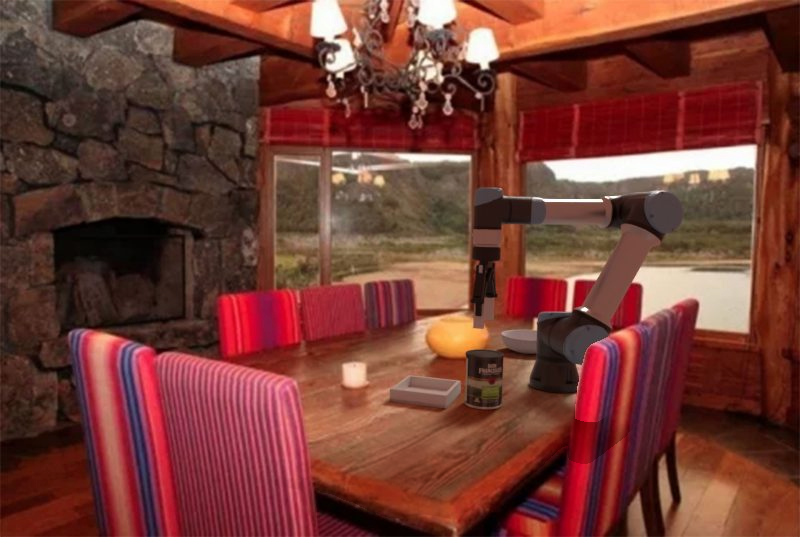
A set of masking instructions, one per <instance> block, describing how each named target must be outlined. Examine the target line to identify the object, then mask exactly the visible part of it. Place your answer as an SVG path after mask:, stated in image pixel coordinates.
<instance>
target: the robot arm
mask: <svg viewBox="0 0 800 537" xmlns="http://www.w3.org/2000/svg"><path fill="white" fill-rule="evenodd" d="M473 198H474V199H473V232H471V233H470V236H471V237H472V244H473V245H474V246H473V247H472V249H471V250H472V251H471V252H472V253H471V254H472V255H471V259H472V260H473V261H478V262H479V263H478V264H476V265H475V278H474V284H473V293H472V297H471V299H470V304H473V322H472V323H473V324H472V329H480V330H484V329H485V322H486V321H487V322H494V320H495V316H494V315H495V298H498V295H499V294H498V293H497V286H496V285H497V282H496V262H499V261H500V260H501V257H502V256H501V254H502V253H501V251H502V248H501V247H500V246H501V245H502V231H503V230H502V226H504V225H525V226H527V225H528V226H532V225H533V226H536V225H537V226H538V225H554V226H555V225H557V226H558V225H562V226H563V225H566V226H567V225H568V226H569V225H577V226H579V225H582V226H585V225H587V226H593V225H594V226H598V227H599V228H601V229H614V230H620V231H621V233H622V234H621V236H620V237H619V240H618V242H617V243H616V245H615V247H614V248H613V250H612V251H611V254H610V255H609V258H608V259H607V260H606V263H605V264H604V266H603V268H602V270H601V272H600V273H599V274H598V276H597V279H596V281H595V282H594V284H593V286H592V287H591V289H590V291H589V293H588V294H587V296H586V298H585V299H584V301H583V303H582V305H581V306H577V307H574V308H573V310H572V311H541V312H539V313H538V315H537V320H536V331H537V344H536V354H535V362H534V364H533V367H532V370H531V371H530V375H529V383H528V384H529V386H530V387H532V388H533V389H536V390H540V391H542V392H549V393H557V394H559V393H561V394H564V393H565V394H569V393H570V394H571V393H575V392H578V391H577V386H578V382H579V377H580V374H579V370H578V367H577V365H579V366H582V363H583V359H584V355H585V352H586V350H587V348H588V347H589V346H590V345H591V344H593V343H595V342H597V341H600V340H602V339H604V338H606V337H608V336H609V337H610V334H611V332H612V330H613V326H612V323H611V320H612V319H613V316H614V315H615V314H616V312H617V311H618V307H619V306H620V305H621V302H622V301H623V299H624V297H625V295H626V294H627V292H628V290H629V289H630V287H631V286H632V283H633V282H634V279H635V278H636V276H637V274H638V273H639V271H640V269H641V267H642V265H643V264H644V262H645V260H646V258H647V257H648V255H649V254H650V251H651V250H652V248H654V247H657V246H660V245H661V243H662V242H663V240H664V238H665V236H666V235H667V234H671V233H673V232H675V231H676V230H677V229H678V228H680V226H681V225H682V223H683V219H684V208H683V205H682V202H681V200H680V199H679V197H678V196H677V195H676V194H675V193H673V192H671V191H667V190H660V189H656V190H651V191H642V192H640V191H639V192H631V193H625V194H619V195H613V196H610V195H609V196H607V195H606V196H600V197H599V198H598V199H580V198H579V199H577V198H576V199H572V198H570V199H569V198H563V199H562V198H559V199H558V198H542V197H539V196H537V197H535V196H515V195H514V196H508V195H504V191H503V189H502V188H501V187H490V186H487V187H478V188H477V189H475V191H474V197H473Z"/></svg>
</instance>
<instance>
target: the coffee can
mask: <svg viewBox="0 0 800 537" xmlns="http://www.w3.org/2000/svg"><path fill="white" fill-rule="evenodd" d="M504 357H505V353H503V352H501V351H498V350H492V349H479V348H478V349H470V350H467V351H466V352H465V377H464V378H465V382H464V383H465V386H464V404H465V406H467V407H469V408H472V409H477V410H485V411H487V410H488V411H489V410H497V409H499V408H502V406H503V404H502V403H503V380H504V379H503V375H504Z"/></svg>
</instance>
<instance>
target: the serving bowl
mask: <svg viewBox="0 0 800 537" xmlns="http://www.w3.org/2000/svg"><path fill="white" fill-rule="evenodd" d="M500 335H501V340H502V342H503V345H504V346H506V348H508V349H509V350H511V351H513V352H516V353H518V354H524V355H536V344H537V330H533V329H509V330H504V331H502V332H501V334H500Z"/></svg>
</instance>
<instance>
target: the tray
mask: <svg viewBox="0 0 800 537" xmlns="http://www.w3.org/2000/svg"><path fill="white" fill-rule="evenodd" d="M461 388H462V380H459V379H458V380H457V379H448V378H438V377H430V376H420V375H411V374H408V375H406V377H404V378H403V379H402V380H400V381H399V382H397V383H396V384H395V385H393V386H392V387H390V389H389V402H391V403H399V404H407V405H416V406H421V407H422V406H424V407H430V408H440V409H447V408H448V407H449V406H450V405H451V404H452V403H453V402H454V401H455V400H456V399H457V397H458V396H459V395H460V394H461V393H462V391H461V390H462V389H461Z"/></svg>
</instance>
